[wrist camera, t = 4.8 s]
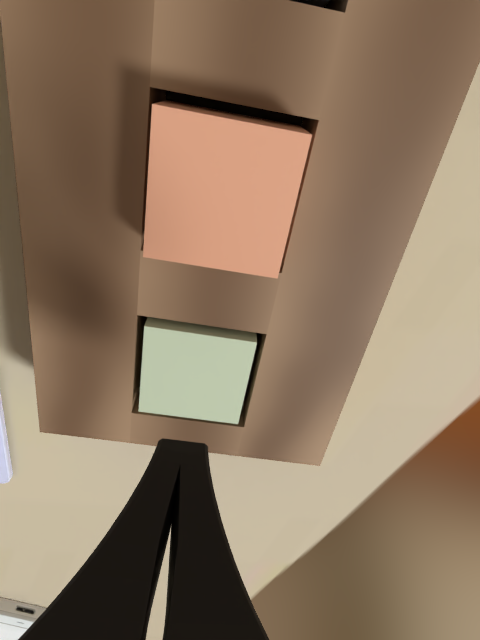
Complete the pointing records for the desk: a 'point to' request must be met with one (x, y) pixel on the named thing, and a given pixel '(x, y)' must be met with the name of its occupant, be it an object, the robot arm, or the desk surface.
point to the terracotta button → (221, 188)
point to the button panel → (309, 213)
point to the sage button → (195, 370)
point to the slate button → (313, 2)
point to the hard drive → (16, 618)
